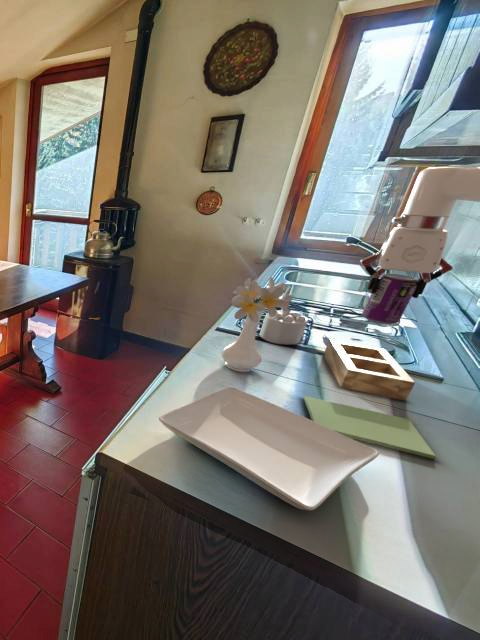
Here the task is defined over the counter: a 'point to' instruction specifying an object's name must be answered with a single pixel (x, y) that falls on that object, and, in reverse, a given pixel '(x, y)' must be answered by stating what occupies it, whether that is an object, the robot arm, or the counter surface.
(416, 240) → the robot arm
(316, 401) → the mat
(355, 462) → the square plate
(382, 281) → the beverage can
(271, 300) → the flower vase
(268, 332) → the lumpy-topped squat cylinder
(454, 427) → the counter surface
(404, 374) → the can rack
